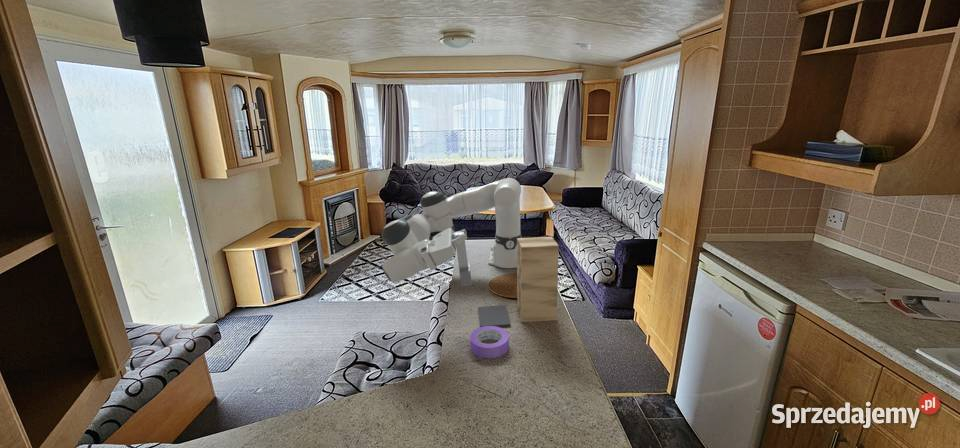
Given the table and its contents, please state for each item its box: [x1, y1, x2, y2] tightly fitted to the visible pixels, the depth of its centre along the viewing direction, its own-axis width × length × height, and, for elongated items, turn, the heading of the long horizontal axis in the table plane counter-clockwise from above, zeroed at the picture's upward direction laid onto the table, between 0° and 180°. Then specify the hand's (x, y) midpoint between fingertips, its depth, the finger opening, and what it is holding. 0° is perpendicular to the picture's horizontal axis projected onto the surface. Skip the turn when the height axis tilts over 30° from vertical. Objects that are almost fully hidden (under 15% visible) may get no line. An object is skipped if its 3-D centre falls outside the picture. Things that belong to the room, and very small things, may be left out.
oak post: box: [516, 236, 560, 323], centre depth 133 cm, size 9×12×27 cm
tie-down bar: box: [455, 231, 473, 287], centre depth 128 cm, size 7×17×4 cm
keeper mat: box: [477, 304, 511, 328], centre depth 136 cm, size 13×10×1 cm
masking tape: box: [469, 326, 510, 359], centre depth 119 cm, size 12×12×4 cm
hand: (466, 233), depth 126 cm, fingers closed on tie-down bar, 3 cm apart
